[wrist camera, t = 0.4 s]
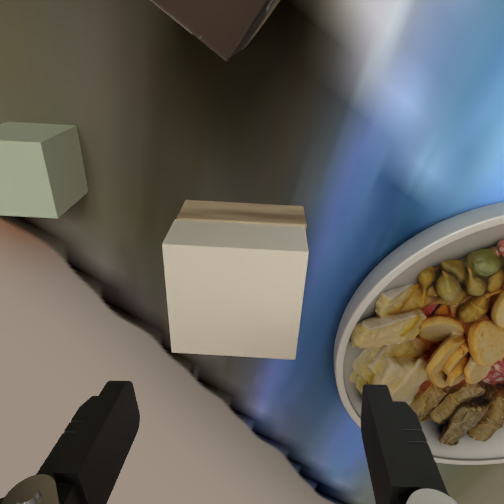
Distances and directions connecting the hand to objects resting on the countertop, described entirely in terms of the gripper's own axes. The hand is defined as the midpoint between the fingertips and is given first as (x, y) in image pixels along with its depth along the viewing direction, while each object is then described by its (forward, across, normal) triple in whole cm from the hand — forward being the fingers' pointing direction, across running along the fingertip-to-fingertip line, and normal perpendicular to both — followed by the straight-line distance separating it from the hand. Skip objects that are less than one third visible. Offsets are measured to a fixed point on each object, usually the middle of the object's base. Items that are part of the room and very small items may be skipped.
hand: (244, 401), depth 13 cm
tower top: (+18, +3, +5) cm, 19 cm away
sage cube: (+20, +18, -6) cm, 28 cm away
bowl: (+24, -20, +13) cm, 34 cm away
